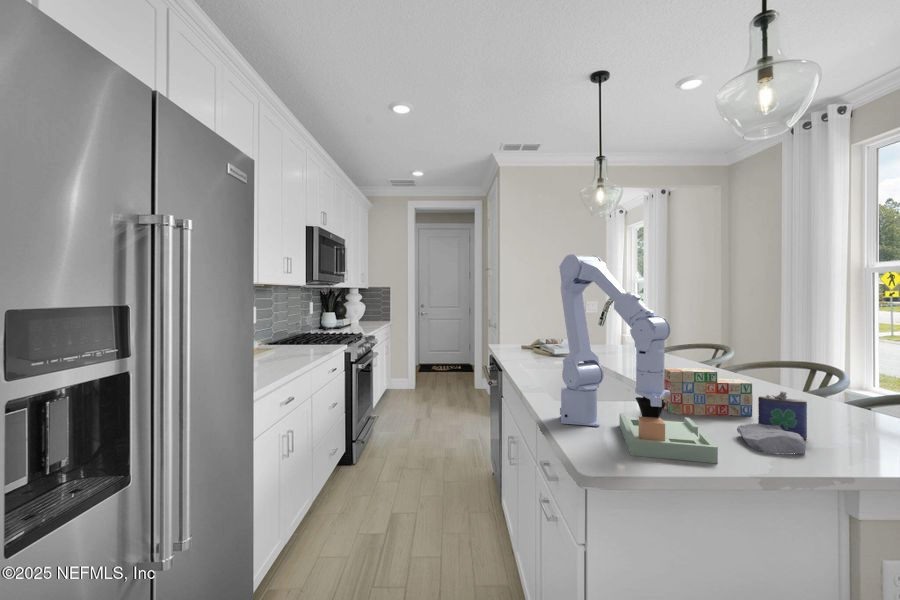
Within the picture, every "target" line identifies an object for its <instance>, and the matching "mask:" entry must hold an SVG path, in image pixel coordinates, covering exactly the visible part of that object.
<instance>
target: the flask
mask: <svg viewBox="0 0 900 600" xmlns="http://www.w3.org/2000/svg"><path fill="white" fill-rule="evenodd" d="M787 395H788V393H787V392H786V391H784V390H783V391H782V390H781V391H779V394H778V395H772V394H771V395H769V394H766V395H763V396H762V395H761V396H758V401H757V402H758V403H757V405H758V418H757V419H758V423H757V424H762V425H771V426H775V425H778V426H780V427H781V428H782V429H783V430H785V431H788V432H794V433H797V434H799V435H800V436H801V437H802V438H803V439H804V441H806V440H807V438H808V417H807V416H808V412H807V411H808V401H806V400H803V399H799V398H798V399H796V398H795V399H794V398H793V399H792V398H788V396H787Z"/></svg>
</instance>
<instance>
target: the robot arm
mask: <svg viewBox="0 0 900 600" xmlns="http://www.w3.org/2000/svg"><path fill="white" fill-rule="evenodd" d="M558 269H559V273H560V274H559V275H560V280H561V281H560V294H561V301H562V309H563V315H564V322H565V330H566V336H567V343H568V350H569V352H568V354H567V355H566V356H565V357H564V358H563V359H562V370H561V371H562V372H561V377H562V381H563V382H564V384H565V386H563V387H561V390H560V407H559V415H560V423H561V424H564V425H578V426H588V427H589V426H590V427H591V426H592V427H600V421H599V417H598V389H599V388H600V384H601V383H602V382H603V380H604V376H605V374H604V369H603V367H602V366H601V363H600V360H599V359H600V358H599V356H598V355H597V354H596V353H594V351H593V350H592V349H591V343H590V337H589V329H588V323H587V317H586V308H585V303H584V297H583V292H584V291H585V290H586V288H587V287H590V285H591V284H592V283H594V284H596V286H598V287H599V288H600V289H601V290H602V291H603V292H604V293H605V294H606V295H607V296H608V297H609V298H610V299H611V300H612V301H613V302H614V303H613V310H614V311H615V312H616V313H617V314H618V315H619V317H620V318H621V319H623V321H624V322H625V323H626V324H627V325H628V326H629V327H630V328H629V333H630V335H631V337H632V340H633V341H634V348H635V349H636V350H635V352H636V354H635V355H636V356H635V357H636V358H635V361H636V363H635V364H636V365H635V366H636V368H635V371H636V372H635V383H636V384H635V385H636V386H635V389H634V393H635V394H636V395H639V396H641V397H639V396H637V397H635V400H636V403H637V405H638V407H639V410H640V415H641V417H653V418H660V416H661V414H662V412H663V410H664V407H665V402H664V400H663V397H664V396H665V395H670V391H669V390H664V368H665V340H667V339H668V338H669V337H670V334H671V327H670V323H669V322H668V321H667V319H666V317H664V316H661V315H655V314H656V313H655V312H654V311H653V310H652V309H649V307H647V306H646V305H645V303H644V302H643V301H641V299H642V298H641V296H640V295H639V294H635V293H634V292H626V290H624V288H623V287H622V286H621V285H620V283H619V282H618V281H617V280H616V278H615V277H614V276H613V275H612V274H611V272H610V271H609V270H608V268H607V263H605V261H602V259H601V257H599V256H597V255H581V254H580V255H578V254H577V255H576V254H567V255H566V256H564V258H563V260H562V261H561V263H560V265H559V268H558Z"/></svg>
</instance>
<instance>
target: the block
mask: <svg viewBox="0 0 900 600" xmlns="http://www.w3.org/2000/svg"><path fill="white" fill-rule="evenodd" d="M638 419H639V439H643V440H655V441H665V423H664V422H663V421H664V420H663V419H662V418H661V417H659V418H653V417H642V416H638Z"/></svg>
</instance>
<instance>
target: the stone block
mask: <svg viewBox="0 0 900 600" xmlns="http://www.w3.org/2000/svg"><path fill="white" fill-rule="evenodd" d="M736 431H737V433H738V434H739V435H740V436H741V437H742V439H744V443H746V445H748V446H749V448H751V449H753V450H756V451H758V452H762V453H764V452H766V454H772V453H793V454H792V455H800V454H804V455H805V454H806V442H805V440H804V439H803V438H802V437H801V436H800V435H799V434H797V433H794V432H788V431H785V430H783V429H782V428H781V427H780V426H778V425H775V426H771V425H762V424H758V423H750V422H749V423H746V424H740V425H738V426H737V427H736ZM794 453H795V454H794Z"/></svg>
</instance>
